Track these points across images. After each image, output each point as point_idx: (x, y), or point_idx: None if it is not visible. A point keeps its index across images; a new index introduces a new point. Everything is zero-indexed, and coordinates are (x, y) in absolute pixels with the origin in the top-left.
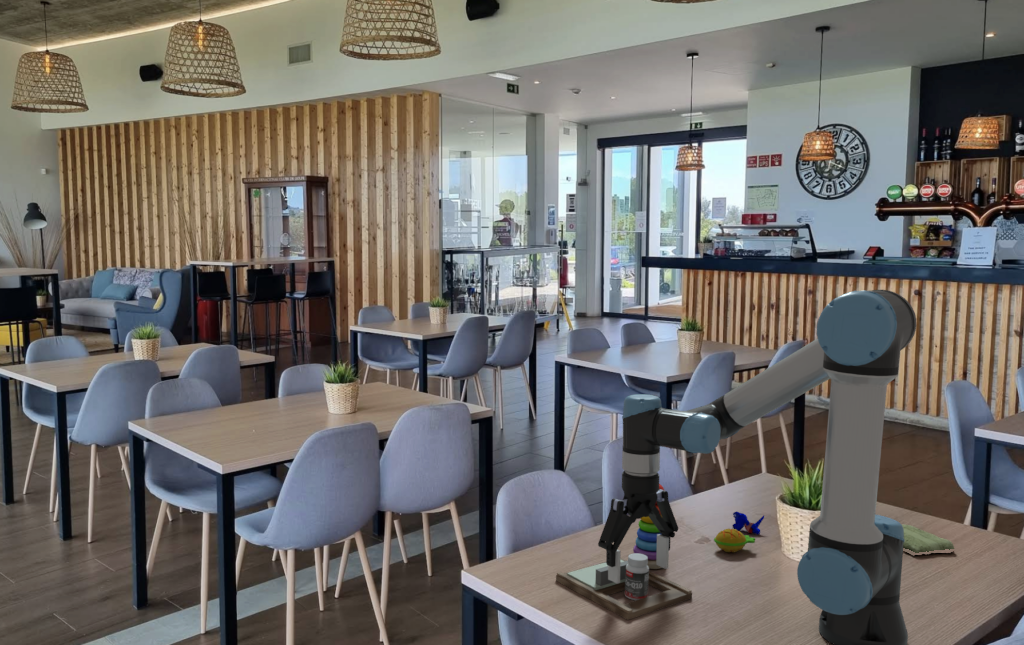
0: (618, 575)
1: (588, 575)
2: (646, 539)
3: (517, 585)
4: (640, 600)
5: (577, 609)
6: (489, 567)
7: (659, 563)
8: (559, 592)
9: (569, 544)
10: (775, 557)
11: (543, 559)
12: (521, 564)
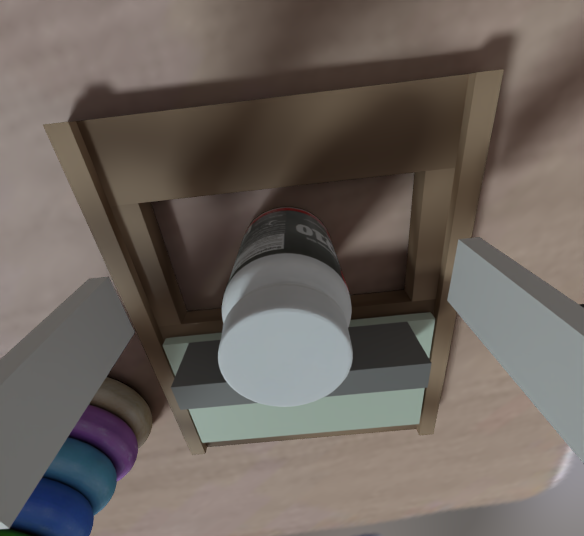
0: (498, 258)
1: (376, 393)
2: (70, 498)
3: (526, 423)
4: (337, 170)
5: (543, 250)
6: (491, 496)
7: (119, 324)
8: (478, 360)
9: (249, 522)
10: None
11: (358, 492)
12: (421, 489)
